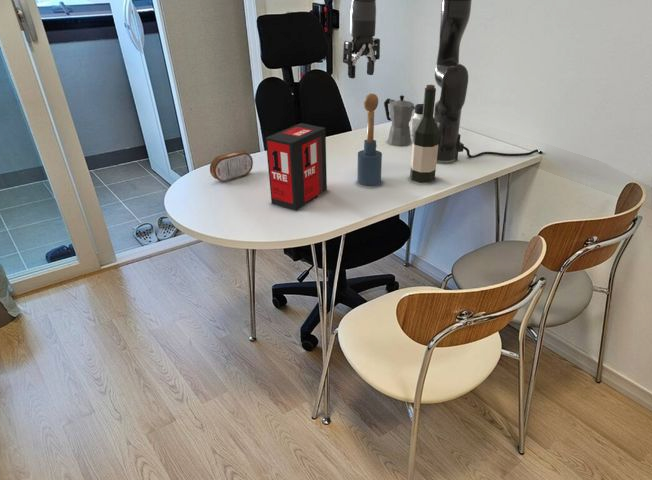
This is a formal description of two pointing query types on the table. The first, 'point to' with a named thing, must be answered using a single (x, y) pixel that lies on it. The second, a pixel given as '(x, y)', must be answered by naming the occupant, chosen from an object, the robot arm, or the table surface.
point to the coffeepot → (399, 121)
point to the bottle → (369, 165)
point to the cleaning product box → (297, 165)
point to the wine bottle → (425, 141)
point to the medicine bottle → (417, 116)
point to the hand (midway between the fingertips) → (361, 76)
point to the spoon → (370, 114)
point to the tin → (231, 165)
